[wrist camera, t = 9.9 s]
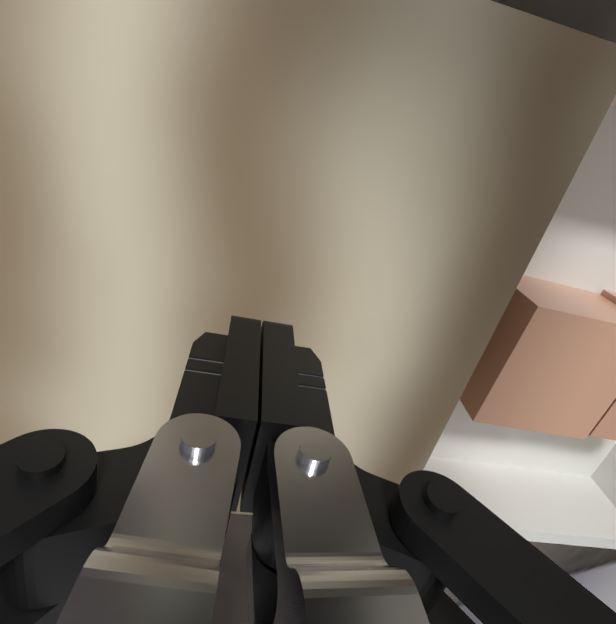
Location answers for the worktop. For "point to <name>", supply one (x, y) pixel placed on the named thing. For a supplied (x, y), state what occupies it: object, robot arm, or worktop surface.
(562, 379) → the tile
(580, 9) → the worktop surface
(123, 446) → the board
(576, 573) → the worktop surface
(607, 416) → the tile
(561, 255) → the tray
